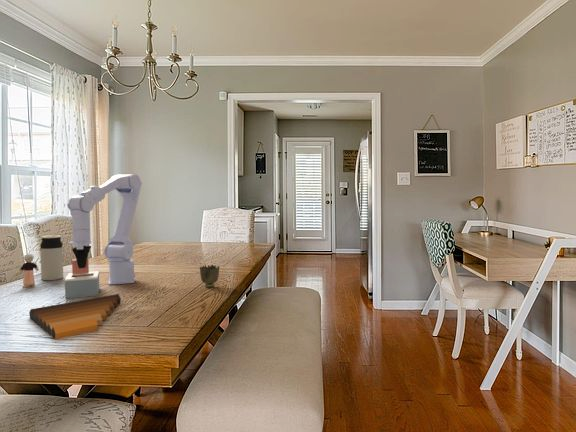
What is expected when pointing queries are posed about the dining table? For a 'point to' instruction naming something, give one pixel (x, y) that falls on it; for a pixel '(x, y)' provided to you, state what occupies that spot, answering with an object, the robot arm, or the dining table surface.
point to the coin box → (82, 285)
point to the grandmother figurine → (28, 271)
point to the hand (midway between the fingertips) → (82, 267)
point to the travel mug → (51, 257)
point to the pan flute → (74, 316)
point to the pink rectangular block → (79, 270)
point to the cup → (209, 275)
